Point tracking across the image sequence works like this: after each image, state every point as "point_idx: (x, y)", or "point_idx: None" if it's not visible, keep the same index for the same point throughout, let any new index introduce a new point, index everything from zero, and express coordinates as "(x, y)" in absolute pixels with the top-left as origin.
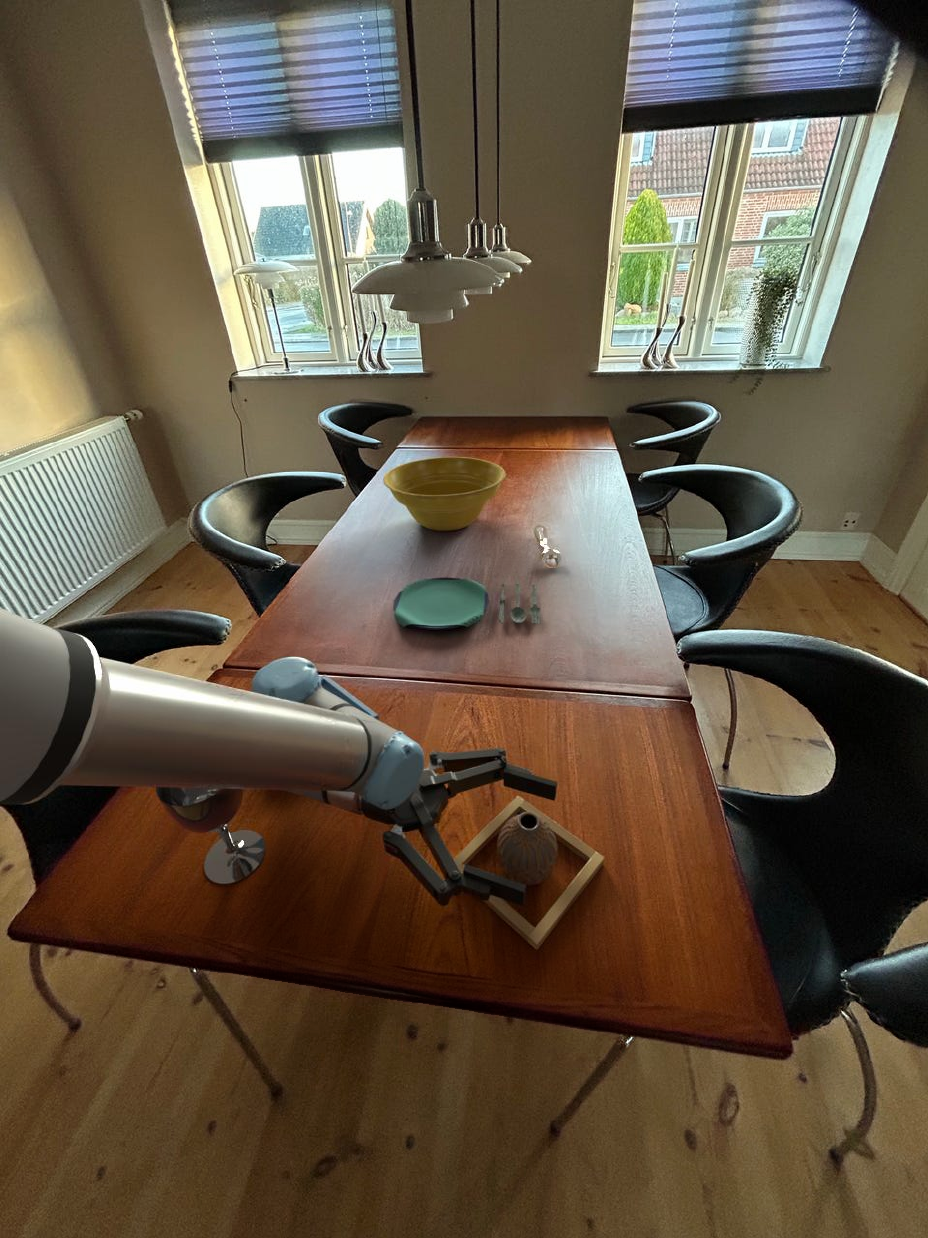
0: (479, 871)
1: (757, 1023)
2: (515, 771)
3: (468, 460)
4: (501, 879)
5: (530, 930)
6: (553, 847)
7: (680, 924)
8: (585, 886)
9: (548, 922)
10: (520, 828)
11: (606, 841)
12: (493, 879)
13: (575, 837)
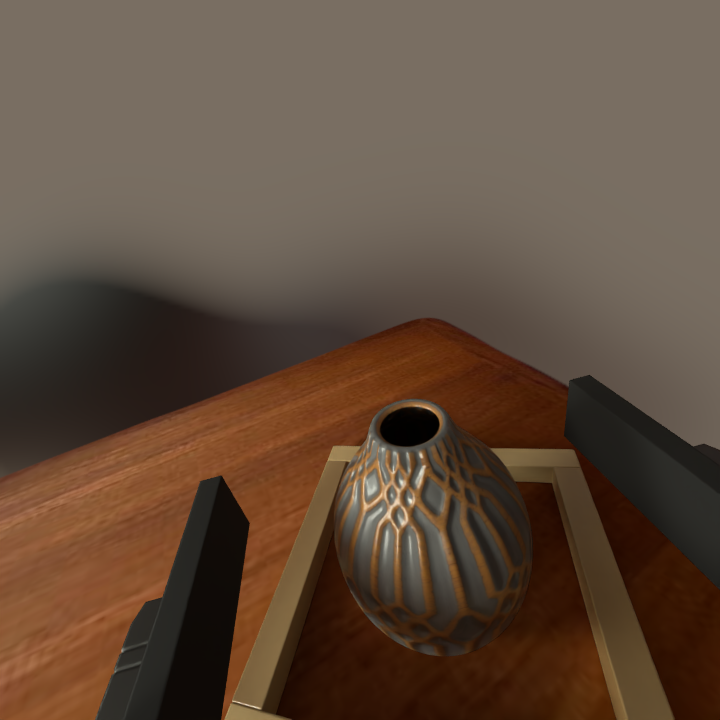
0: (717, 484)
1: (425, 322)
2: (151, 658)
3: None
4: (634, 421)
5: (566, 470)
6: (404, 430)
7: (374, 373)
8: None
9: (518, 455)
10: (452, 428)
11: (291, 474)
12: (667, 434)
13: (312, 501)
